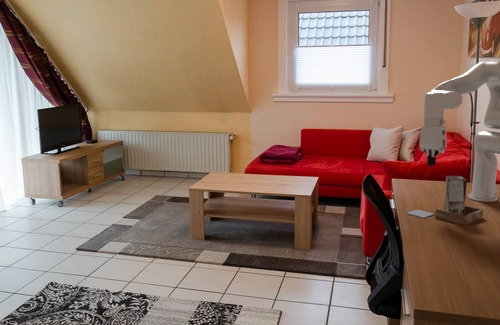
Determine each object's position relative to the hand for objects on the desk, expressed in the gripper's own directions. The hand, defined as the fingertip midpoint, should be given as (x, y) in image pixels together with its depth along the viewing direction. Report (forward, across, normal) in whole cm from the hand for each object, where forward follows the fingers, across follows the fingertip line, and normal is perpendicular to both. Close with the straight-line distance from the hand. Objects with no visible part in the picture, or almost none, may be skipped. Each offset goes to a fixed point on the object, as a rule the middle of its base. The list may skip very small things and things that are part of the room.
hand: (431, 165), depth 205 cm
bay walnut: (+19, -14, +1) cm, 24 cm away
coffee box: (+20, -12, +1) cm, 23 cm away
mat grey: (+19, -2, +9) cm, 21 cm away
